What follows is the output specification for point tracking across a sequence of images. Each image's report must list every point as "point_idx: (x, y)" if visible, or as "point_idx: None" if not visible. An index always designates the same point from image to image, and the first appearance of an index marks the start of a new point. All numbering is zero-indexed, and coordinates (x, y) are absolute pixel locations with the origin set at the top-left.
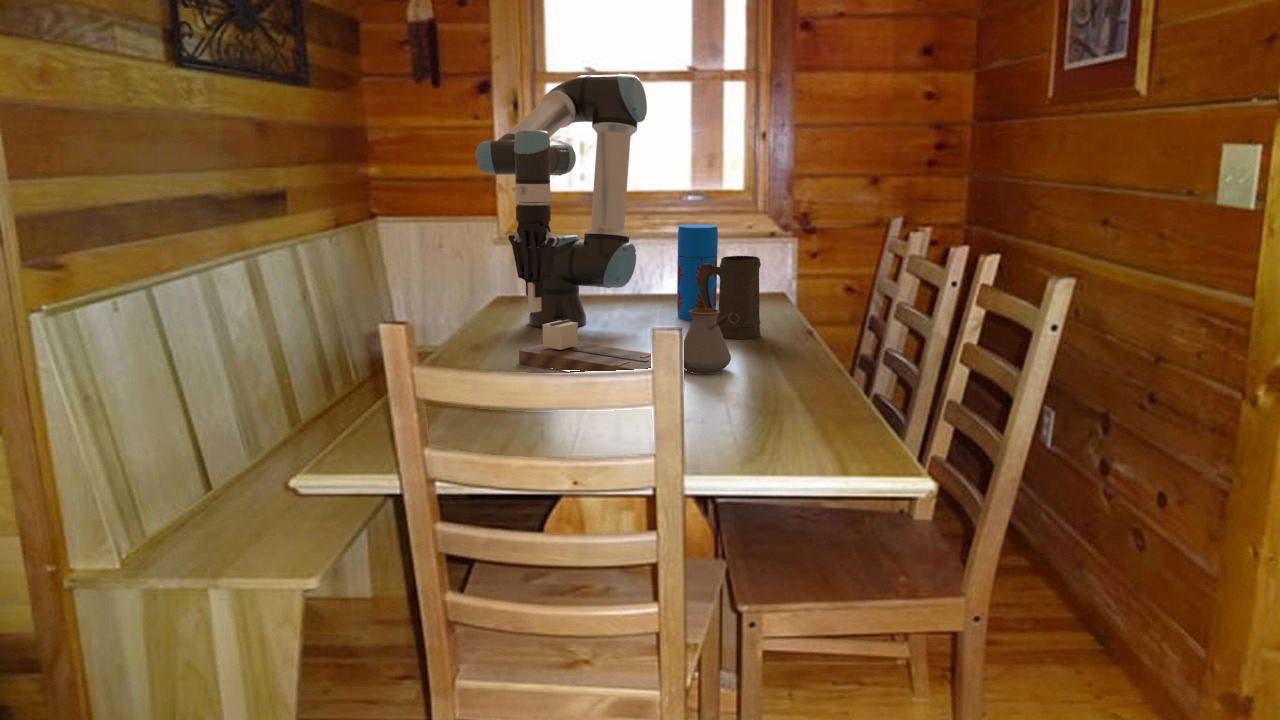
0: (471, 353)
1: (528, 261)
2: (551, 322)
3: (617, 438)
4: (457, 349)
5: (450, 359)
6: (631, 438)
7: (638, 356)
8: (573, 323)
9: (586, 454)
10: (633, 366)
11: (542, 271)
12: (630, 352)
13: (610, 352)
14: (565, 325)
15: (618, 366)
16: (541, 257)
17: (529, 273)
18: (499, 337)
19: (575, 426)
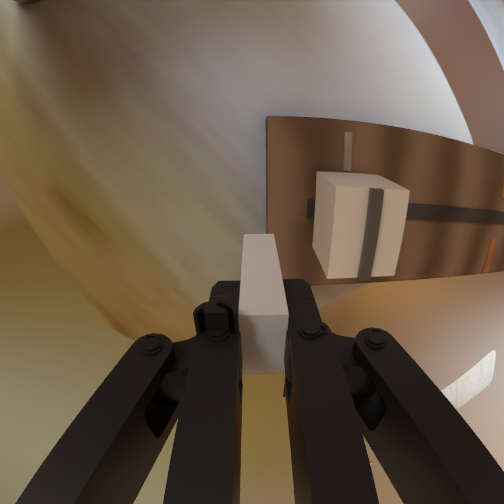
0: (110, 257)
1: (239, 492)
2: (333, 236)
3: (480, 379)
4: (67, 247)
5: (130, 312)
6: (488, 373)
7: (498, 189)
8: (404, 209)
9: (464, 402)
10: (501, 257)
11: (376, 424)
12: (481, 165)
13: (456, 185)
14: (397, 250)
15: (486, 270)
16: (361, 502)
17: (240, 409)
18: (36, 109)
19: (454, 387)
